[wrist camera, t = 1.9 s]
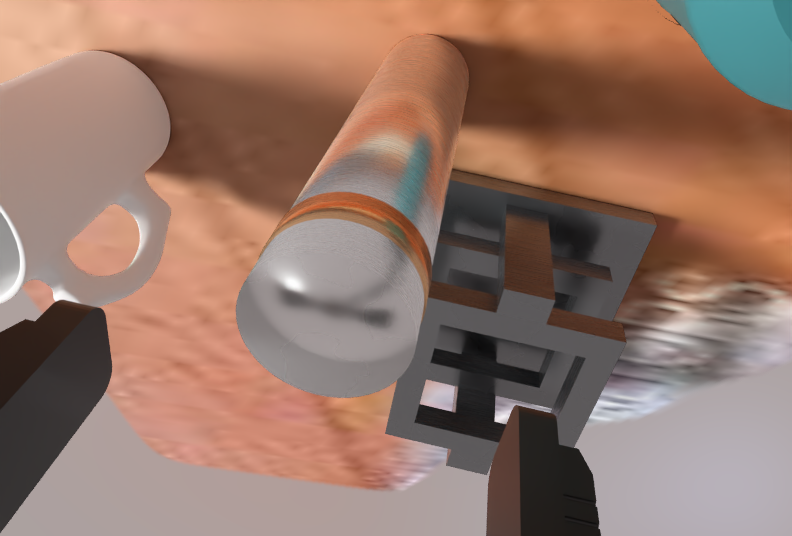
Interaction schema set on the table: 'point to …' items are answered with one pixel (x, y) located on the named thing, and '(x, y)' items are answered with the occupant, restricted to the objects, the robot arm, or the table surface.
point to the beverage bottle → (743, 42)
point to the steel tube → (362, 234)
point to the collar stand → (518, 312)
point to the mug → (78, 172)
